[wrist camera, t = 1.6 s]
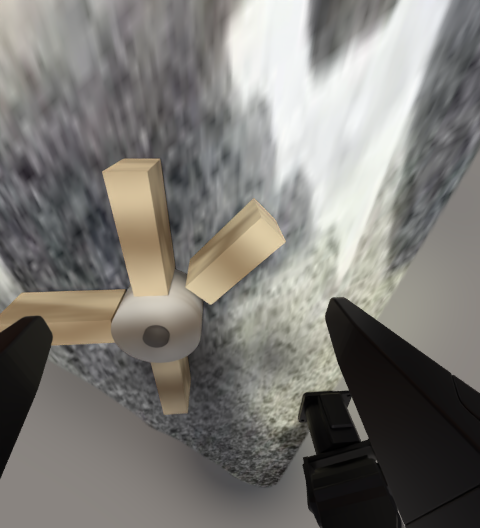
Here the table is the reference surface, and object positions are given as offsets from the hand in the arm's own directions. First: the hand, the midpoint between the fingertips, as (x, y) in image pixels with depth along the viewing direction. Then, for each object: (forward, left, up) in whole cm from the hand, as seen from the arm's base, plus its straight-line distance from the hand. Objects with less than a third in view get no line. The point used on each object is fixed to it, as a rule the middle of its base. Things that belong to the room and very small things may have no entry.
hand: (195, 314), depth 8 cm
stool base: (-10, +9, -14) cm, 19 cm away
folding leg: (-4, -2, -13) cm, 14 cm away
